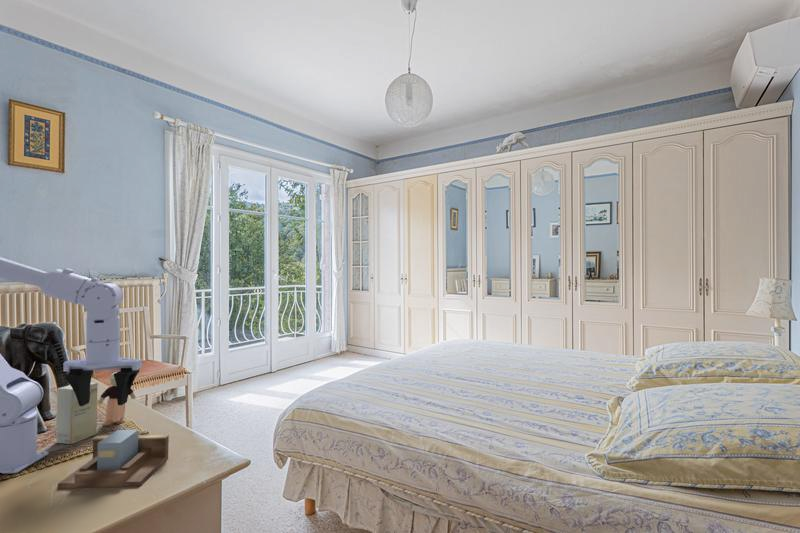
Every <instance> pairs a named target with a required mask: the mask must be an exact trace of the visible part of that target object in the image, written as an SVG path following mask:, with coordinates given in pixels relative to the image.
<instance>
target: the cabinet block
mask: <svg viewBox="0 0 800 533" xmlns="http://www.w3.org/2000/svg"><path fill="white" fill-rule="evenodd" d="M138 435H139V429H117V430H115V431H114V432H112V433H111V434H109V435H107V436H108V437H106V438H105V439H103V440H102V441H100V442H99V443H98V454H97V470H121V468H122V467H123V466H124V465H125V464H126V463H128V462H129V461H130V460H131V459H132V458H134V457H135V456H136V455H137V454H138Z"/></svg>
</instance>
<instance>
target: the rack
mask: <svg viewBox="0 0 800 533" xmlns="http://www.w3.org/2000/svg"><path fill="white" fill-rule="evenodd" d="M108 436H109V435H96V436H95V437H93V438H92V459H90V460H89V461H88V462H86V463H85V464H83V465H81V466H80V467H79V468H78V469H76V470H75V471H74V472H72V473H70V474H69V475H67V476H66V477H65V478H63V479H62V480H61V481H59V482H58V483H57V489H70V488H71V489H72V488H76V489H77V488H113V487H140V486H142V485H143V484H144V483H145V482H146V481H147V480H148V479H149V478H150V477H151V476H152V475H153V474H154V473H155V472H156V471H157V470H158V469H159V468H160V467H161V466H163V464H165V463H166V462H167V460H168V459H169V440H170V439H169V437H170V435H169V434H145V435H144V434H138V454H137V455H136V456H135V457H134V458H132V459H131V460H130V461H129V462H128V463H126V464H125V465H124V466H123V467H122V468H121V470H97V454H98V443H99V442H100V441H102V440H103V439H105V438H106V437H108Z"/></svg>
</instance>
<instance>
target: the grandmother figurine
mask: <svg viewBox="0 0 800 533" xmlns="http://www.w3.org/2000/svg"><path fill="white" fill-rule="evenodd" d="M117 372H118V371H115V372H113V373H111V375H110V376H109V380H110V383H111V386H108V387H107V388H106V389H105V390H104V392H102V394H101V395H100V397H99V400H97V404H99V405H101V404H103V403H104V400H105V399H106V398H108V399H107V403H106V410H105V411H106V412H105V421H104V422H103V423H102V426H110V425H112V424H113V423H114V422H115V424H116V425H118V424H122V423H125V422H126V421H125V419H124V418H125V416H126V415H125V413H126V403H125V404H123V405H118V403H117V386H116V381H115V378H114V374H115V373H117ZM128 396H129V397H130V399H131V400H134V399H136V395H135V392H134V389H132V388H131V389H130V392H129V395H128Z"/></svg>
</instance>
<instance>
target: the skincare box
mask: <svg viewBox="0 0 800 533" xmlns="http://www.w3.org/2000/svg"><path fill="white" fill-rule="evenodd" d="M56 391H57V393H56V430H55V431H56V433H55V442H56V443H58V444H67V445H73V444H75V443H77V442H82V441H83V440H85V439H87V438H90V437H92V436H95V435H97V427H98V426H97V425H98V424H97V423H98V416H97V415H98V382H94V381H93V382H92V381H91V383H90V401H89V403H88V404H86V405H84V406H79V403H78V400H77V397H76V395H75V392H74V390H73V388H72V387H71V385H70V384H68V385H64V386H61V387H58V388H57V390H56Z"/></svg>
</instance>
